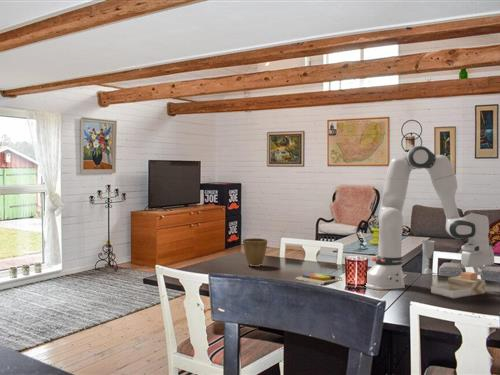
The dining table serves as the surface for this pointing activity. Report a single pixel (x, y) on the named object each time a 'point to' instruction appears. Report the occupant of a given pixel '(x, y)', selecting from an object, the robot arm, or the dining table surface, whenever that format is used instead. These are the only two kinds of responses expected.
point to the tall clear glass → (428, 253)
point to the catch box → (449, 291)
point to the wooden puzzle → (319, 278)
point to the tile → (469, 275)
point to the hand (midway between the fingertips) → (478, 274)
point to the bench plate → (467, 285)
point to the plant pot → (255, 250)
